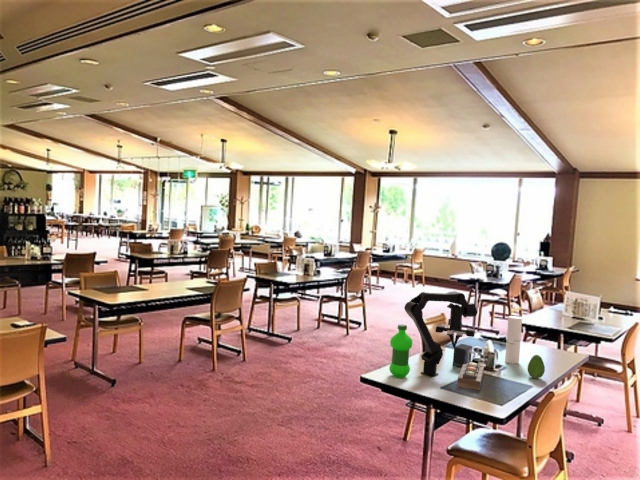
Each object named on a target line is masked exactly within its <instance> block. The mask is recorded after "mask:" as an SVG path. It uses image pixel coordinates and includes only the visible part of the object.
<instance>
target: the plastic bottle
mask: <svg viewBox="0 0 640 480" xmlns="http://www.w3.org/2000/svg"><path fill="white" fill-rule="evenodd" d="M407 328H408V326H407V325H406V324H398V325H397V330H398V332H396V334H394V335H393V336H392V337H391V338H390V343H389V344H390V347H391V348H392V353H391V354H392V355H391V363H390V365H389V373H390V374H391V375H393V377H394V378H397V379H404V378H406V377H407V376H408V374H409V373H410V371H411V367H410V364H409V358H410V356H409V355H410V350H411V348H412V347H413V339H412V338H411V336H410V335H409V334H407V332H406V330H407Z"/></svg>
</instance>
